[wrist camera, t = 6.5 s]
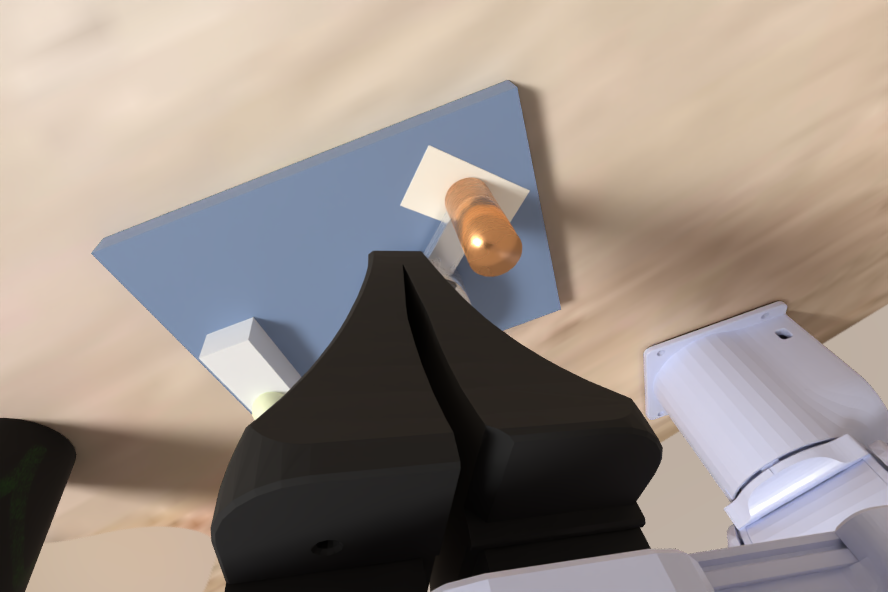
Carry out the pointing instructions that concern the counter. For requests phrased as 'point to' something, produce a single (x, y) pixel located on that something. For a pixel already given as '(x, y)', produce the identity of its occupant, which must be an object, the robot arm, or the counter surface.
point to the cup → (28, 494)
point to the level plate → (332, 243)
